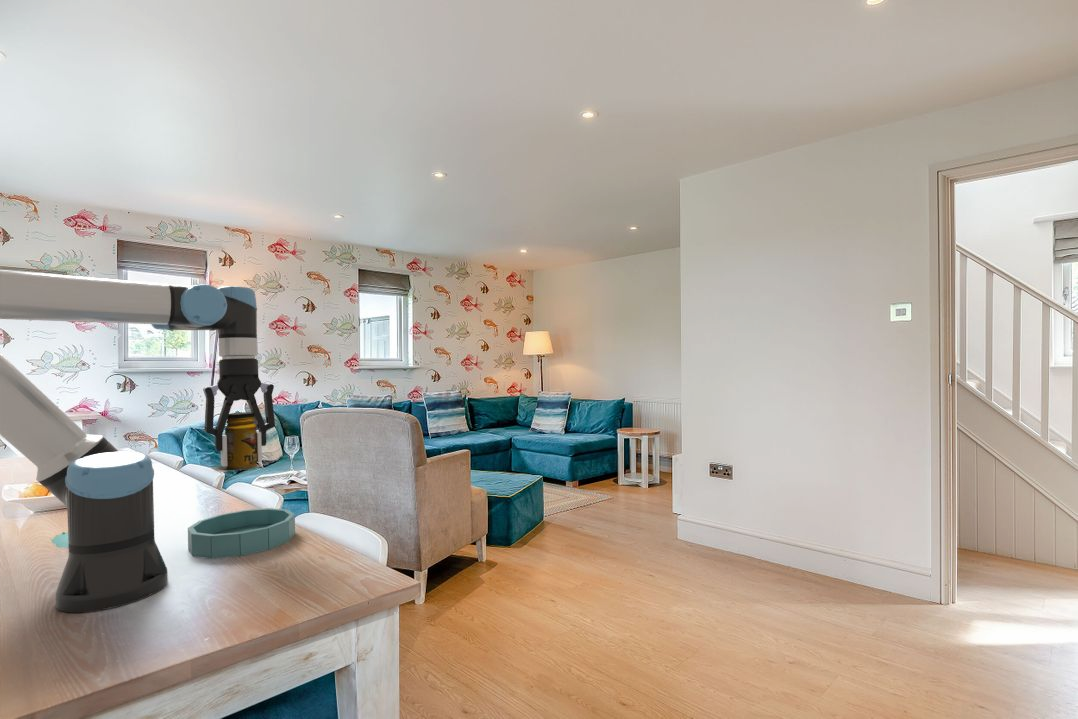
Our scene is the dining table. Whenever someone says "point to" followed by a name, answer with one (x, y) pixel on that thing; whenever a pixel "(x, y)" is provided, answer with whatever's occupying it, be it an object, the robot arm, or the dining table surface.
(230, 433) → the yellow cylindrical bottle
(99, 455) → the robot arm
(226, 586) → the dining table surface
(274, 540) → the bowl
